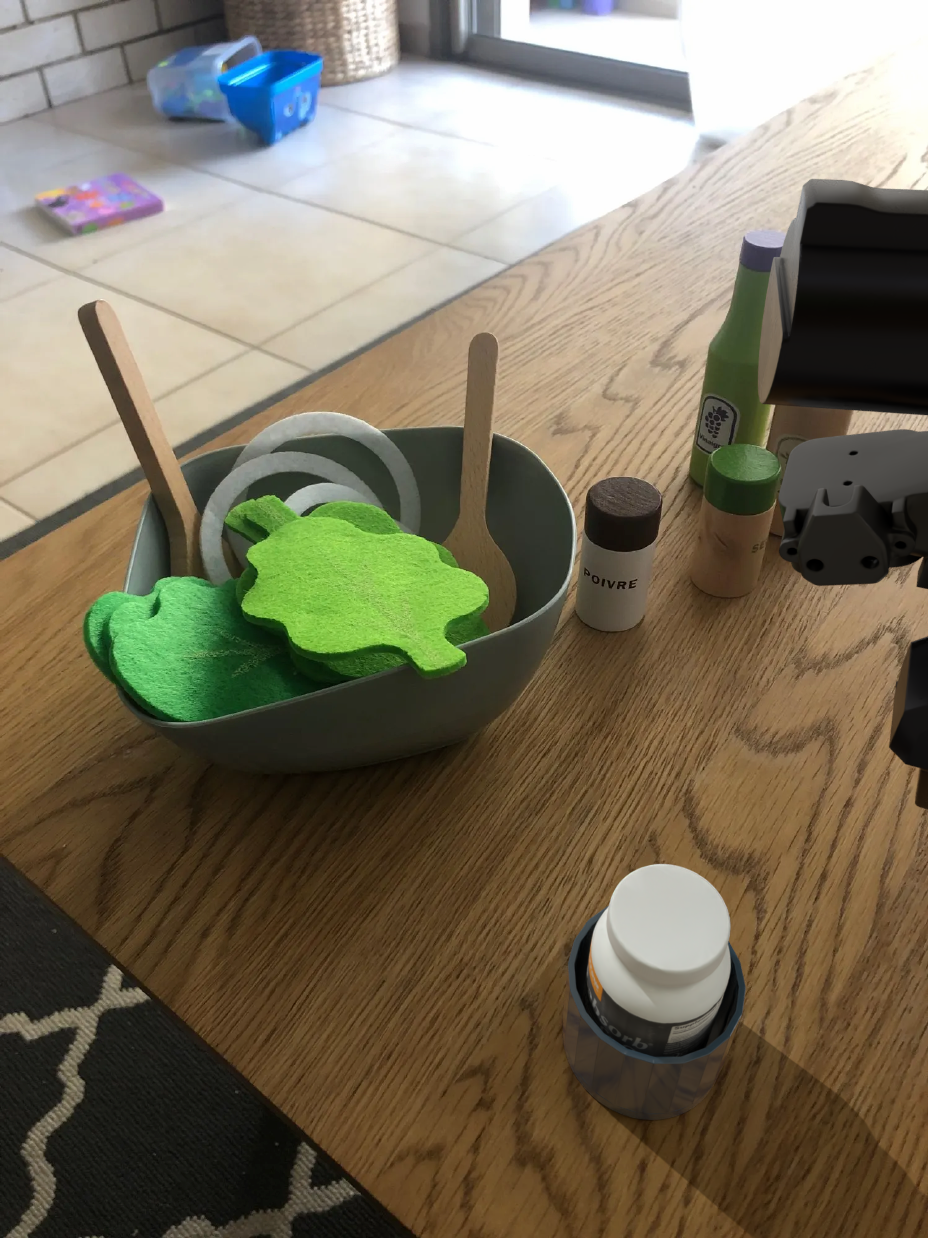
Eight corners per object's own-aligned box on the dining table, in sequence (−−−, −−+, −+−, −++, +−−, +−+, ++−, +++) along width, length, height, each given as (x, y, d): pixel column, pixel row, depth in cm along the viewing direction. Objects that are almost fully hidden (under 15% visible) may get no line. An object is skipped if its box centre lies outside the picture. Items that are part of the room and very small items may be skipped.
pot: (707, 962, 49) (727, 896, 45) (736, 1120, 43) (761, 1062, 39) (557, 963, 49) (562, 898, 45) (568, 1121, 44) (575, 1064, 39)
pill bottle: (553, 1018, 46) (563, 905, 39) (642, 945, 49) (665, 826, 42) (643, 1120, 43) (671, 1016, 36) (733, 1036, 45) (775, 924, 38)
